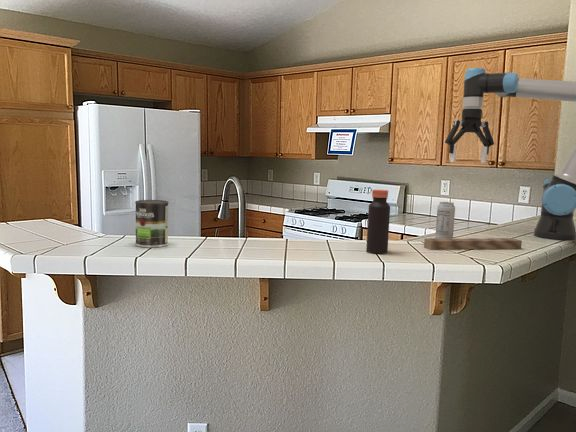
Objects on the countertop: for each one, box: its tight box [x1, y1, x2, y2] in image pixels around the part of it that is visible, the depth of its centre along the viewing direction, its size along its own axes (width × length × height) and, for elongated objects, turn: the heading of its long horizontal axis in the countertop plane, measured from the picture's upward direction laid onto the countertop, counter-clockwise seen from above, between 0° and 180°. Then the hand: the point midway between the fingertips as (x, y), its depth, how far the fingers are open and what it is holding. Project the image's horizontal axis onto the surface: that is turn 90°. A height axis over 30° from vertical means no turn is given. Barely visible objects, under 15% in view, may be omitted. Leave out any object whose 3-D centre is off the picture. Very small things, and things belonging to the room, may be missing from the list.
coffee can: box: [134, 199, 169, 249], centre depth 165 cm, size 10×10×14 cm
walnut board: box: [423, 237, 523, 251], centre depth 177 cm, size 34×5×3 cm, turn 101°
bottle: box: [365, 189, 391, 255], centre depth 164 cm, size 7×7×20 cm
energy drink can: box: [434, 201, 456, 238], centre depth 183 cm, size 6×6×15 cm
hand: (468, 162), depth 207 cm, fingers open, 13 cm apart
